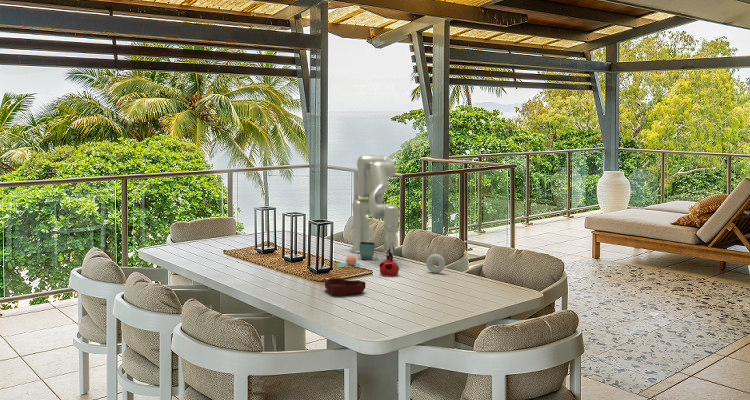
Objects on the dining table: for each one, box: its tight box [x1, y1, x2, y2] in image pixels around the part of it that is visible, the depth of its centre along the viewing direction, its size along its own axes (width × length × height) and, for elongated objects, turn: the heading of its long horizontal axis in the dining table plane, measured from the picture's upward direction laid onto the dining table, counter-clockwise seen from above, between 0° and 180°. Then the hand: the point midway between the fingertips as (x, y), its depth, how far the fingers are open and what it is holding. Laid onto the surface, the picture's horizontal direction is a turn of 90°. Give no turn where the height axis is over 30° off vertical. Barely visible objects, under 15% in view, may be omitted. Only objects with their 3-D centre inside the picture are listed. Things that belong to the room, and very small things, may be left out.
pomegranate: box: [378, 257, 400, 277], centre depth 333 cm, size 10×10×9 cm
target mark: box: [336, 262, 362, 269], centre depth 353 cm, size 12×12×1 cm
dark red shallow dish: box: [324, 277, 367, 297], centre depth 291 cm, size 18×16×5 cm
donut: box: [425, 253, 446, 274], centre depth 341 cm, size 10×4×10 cm, turn 69°
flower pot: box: [359, 241, 376, 261], centre depth 373 cm, size 9×9×9 cm
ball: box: [345, 255, 357, 266], centre depth 353 cm, size 6×6×6 cm
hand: (389, 262), depth 356 cm, fingers closed
